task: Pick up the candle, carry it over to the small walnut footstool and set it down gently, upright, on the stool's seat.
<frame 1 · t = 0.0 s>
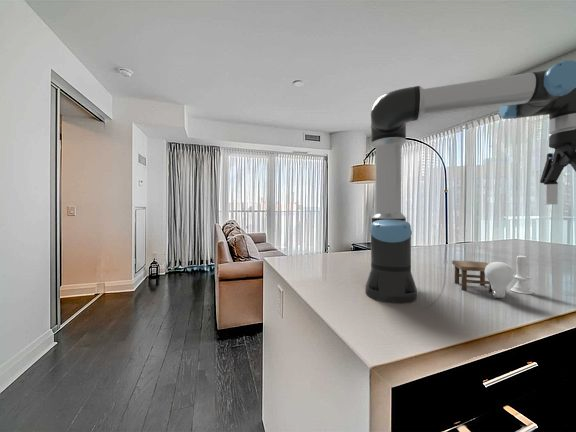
hand: (566, 204, 73), 28 cm above the worktop, fingers open, 13 cm apart
light bulb: (498, 299, 74), on the worktop
stool: (473, 287, 84), on the worktop
candle: (521, 292, 80), on the worktop
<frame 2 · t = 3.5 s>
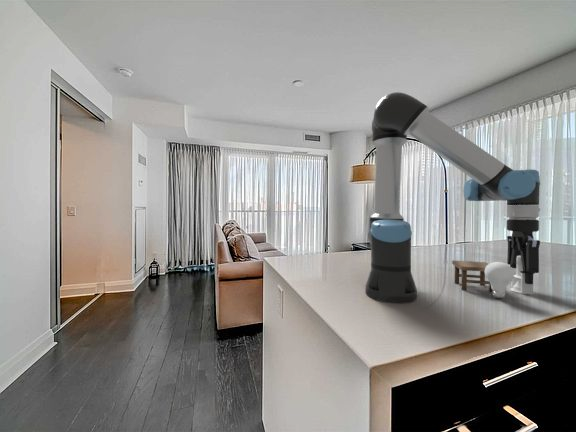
hand: (521, 290, 80), 0 cm above the worktop, fingers closed on candle, 5 cm apart
candle: (521, 292, 80), on the worktop, touching gripper
everything else where it was.
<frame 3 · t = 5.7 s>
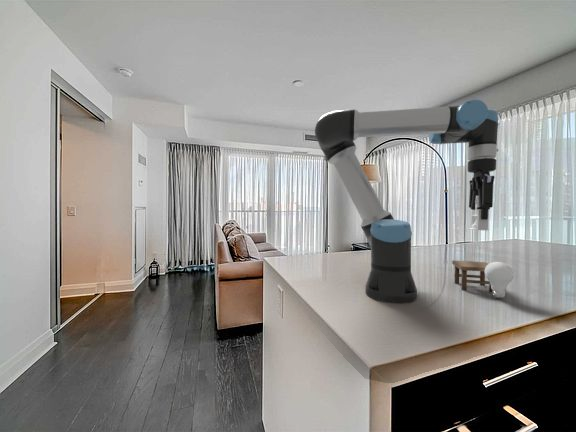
hand: (478, 228, 83), 20 cm above the worktop, fingers closed on candle, 5 cm apart
candle: (479, 230, 83), point 20 cm above the worktop, touching gripper
everything else where it was.
when the fingers open (9 cm above the worktop, at t = 7.8 s): candle stays where it is, resting on stool.
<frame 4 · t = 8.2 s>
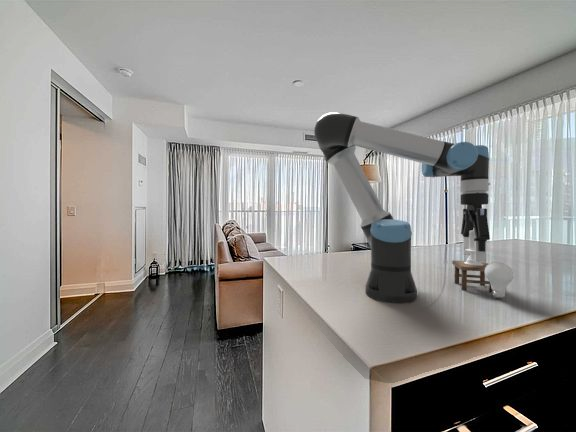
hand: (473, 258, 84), 10 cm above the worktop, fingers open, 10 cm apart
candle: (473, 264, 84), point 8 cm above the worktop, touching stool
everything else where it was.
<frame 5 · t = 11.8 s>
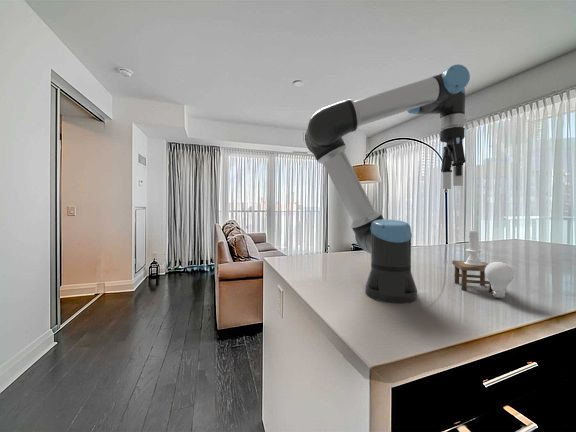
hand: (451, 187, 91), 35 cm above the worktop, fingers open, 13 cm apart
nothing on the worktop moved.
at the end: candle inside the target area on the stool (0.0 cm from its centre), point 7.8 cm above the stool's base; candle tilted 0°; the gripper is holding nothing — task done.
